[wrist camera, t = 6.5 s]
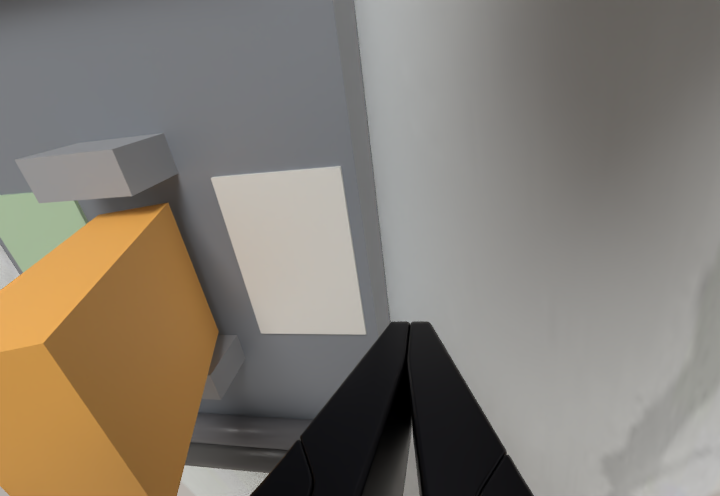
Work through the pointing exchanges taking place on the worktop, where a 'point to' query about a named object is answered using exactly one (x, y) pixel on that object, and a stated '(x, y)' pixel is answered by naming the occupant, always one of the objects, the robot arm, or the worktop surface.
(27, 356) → the lever
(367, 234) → the panel
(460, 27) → the worktop surface
